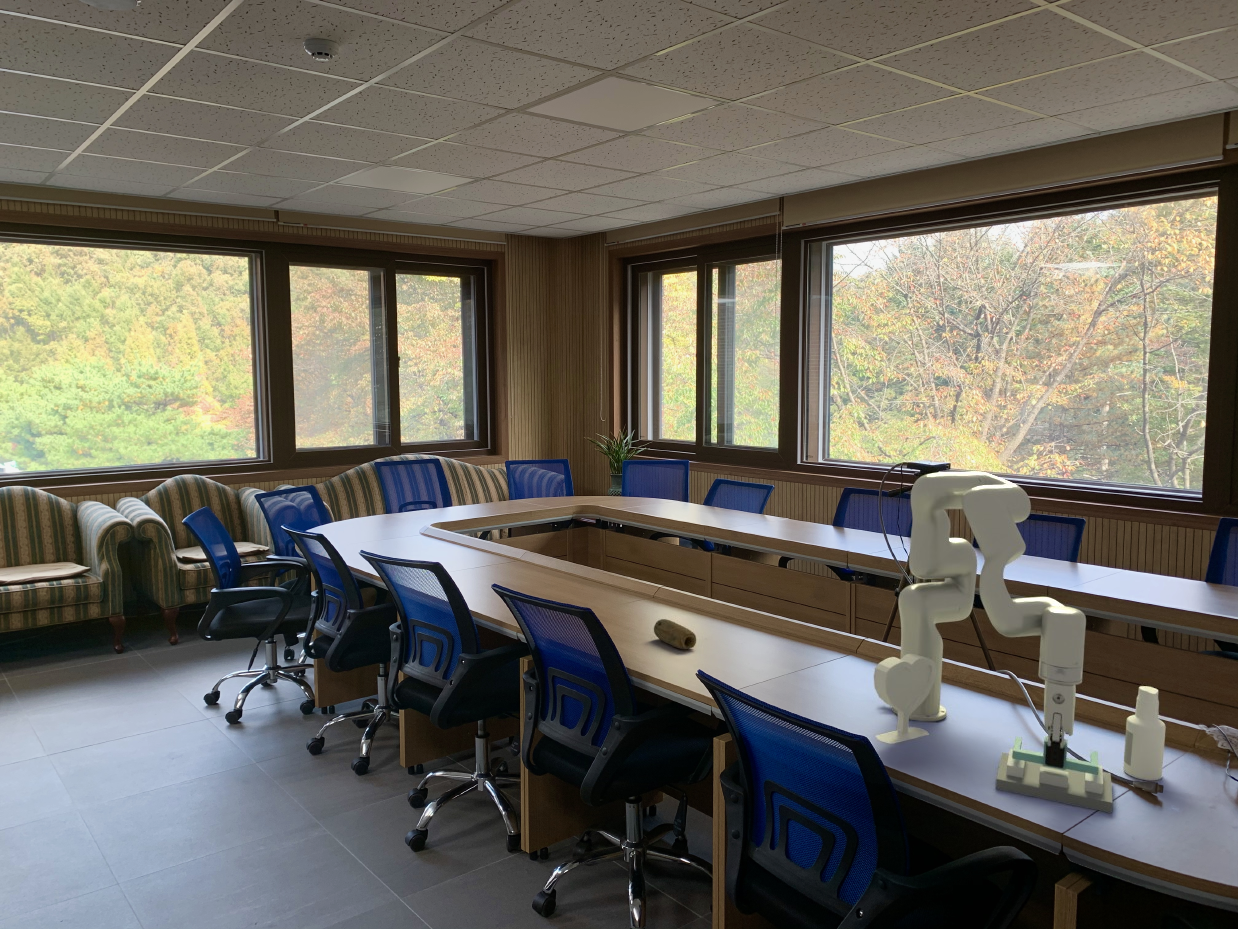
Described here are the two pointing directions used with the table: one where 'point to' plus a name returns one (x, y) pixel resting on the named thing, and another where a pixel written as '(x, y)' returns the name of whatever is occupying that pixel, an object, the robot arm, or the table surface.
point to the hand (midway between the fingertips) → (1054, 761)
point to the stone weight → (674, 634)
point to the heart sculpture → (904, 691)
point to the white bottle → (1145, 738)
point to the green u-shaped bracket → (1068, 763)
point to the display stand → (1055, 783)
